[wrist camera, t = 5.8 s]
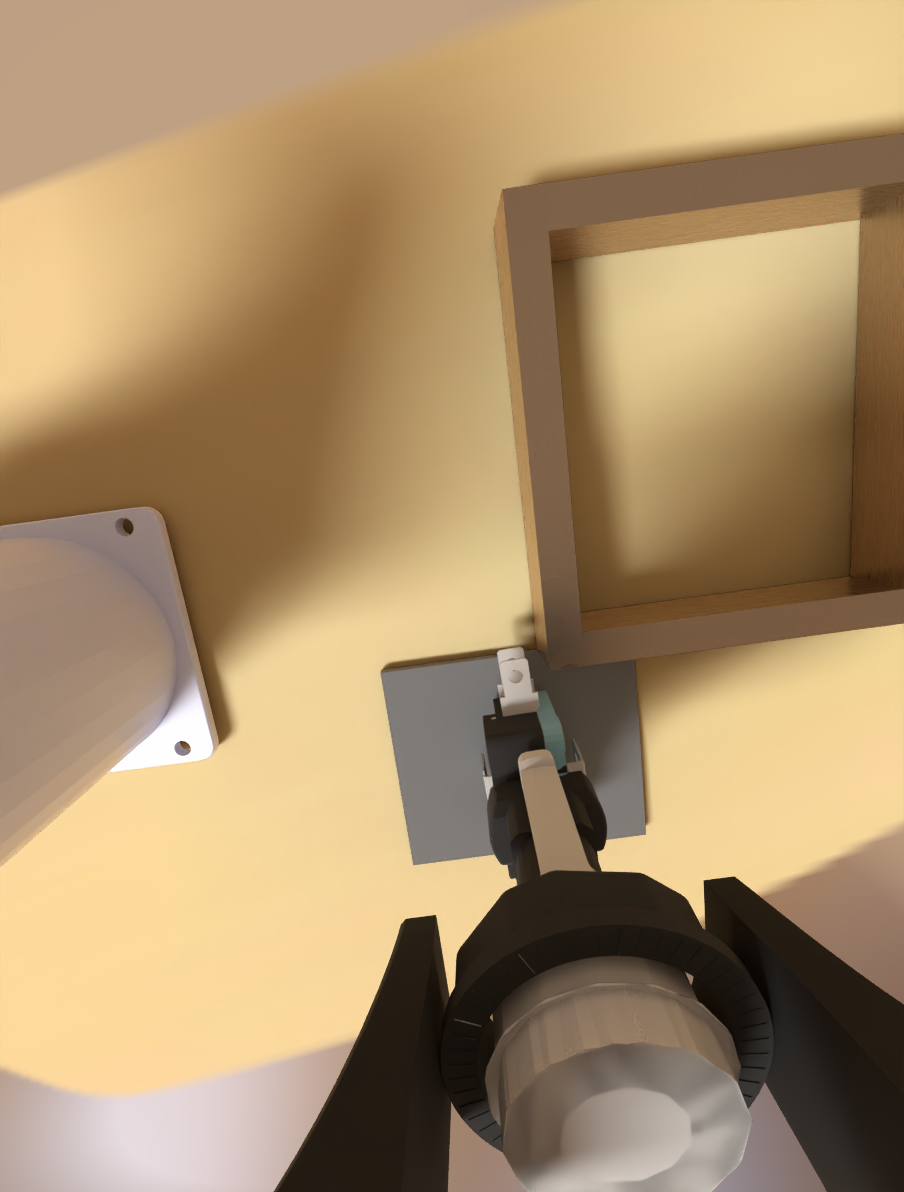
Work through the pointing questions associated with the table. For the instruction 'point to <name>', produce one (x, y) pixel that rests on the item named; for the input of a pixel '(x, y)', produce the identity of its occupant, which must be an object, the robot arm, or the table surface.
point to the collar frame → (685, 215)
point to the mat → (456, 740)
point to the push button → (592, 992)
